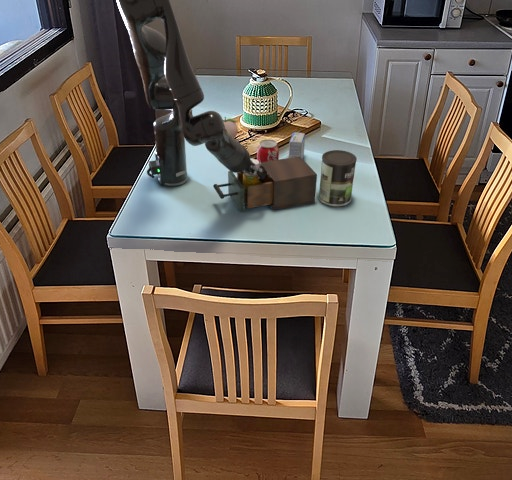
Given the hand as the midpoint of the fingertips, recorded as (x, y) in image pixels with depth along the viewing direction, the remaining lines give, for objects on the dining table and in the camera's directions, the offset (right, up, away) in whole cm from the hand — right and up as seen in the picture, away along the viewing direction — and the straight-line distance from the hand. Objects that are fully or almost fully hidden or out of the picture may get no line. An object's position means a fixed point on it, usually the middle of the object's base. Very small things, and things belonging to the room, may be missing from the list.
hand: (255, 176), depth 173 cm
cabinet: (+10, -5, +7) cm, 13 cm away
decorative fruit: (-11, +18, +37) cm, 43 cm away
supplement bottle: (-1, -4, +2) cm, 5 cm away
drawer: (-3, -7, +3) cm, 8 cm away
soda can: (+4, +3, +17) cm, 18 cm away
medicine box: (+14, +10, +27) cm, 32 cm away
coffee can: (+25, -6, +7) cm, 26 cm away
